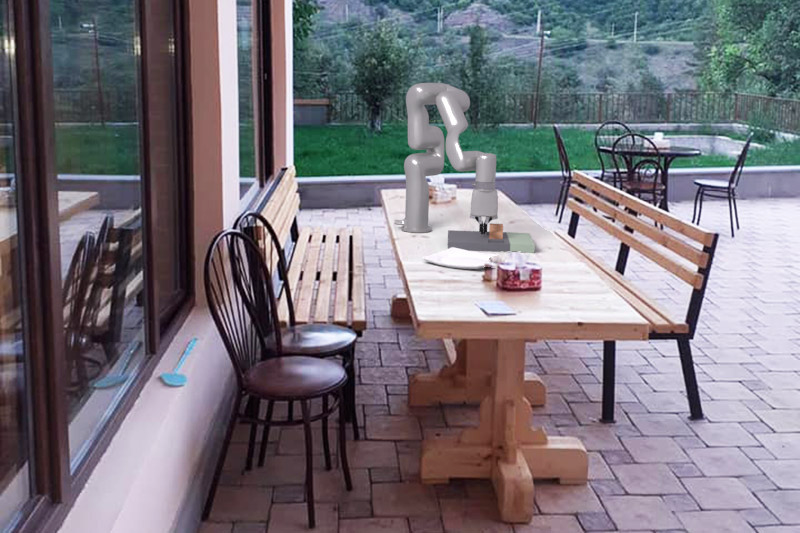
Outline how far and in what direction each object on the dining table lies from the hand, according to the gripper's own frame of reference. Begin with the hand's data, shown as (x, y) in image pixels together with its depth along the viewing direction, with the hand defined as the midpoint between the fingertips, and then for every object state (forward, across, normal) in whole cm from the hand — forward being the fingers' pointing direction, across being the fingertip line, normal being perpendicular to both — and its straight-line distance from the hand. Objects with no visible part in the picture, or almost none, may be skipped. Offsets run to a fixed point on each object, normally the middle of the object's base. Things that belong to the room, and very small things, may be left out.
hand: (483, 233), depth 347 cm
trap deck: (+4, +3, 0) cm, 5 cm away
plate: (+5, -7, -33) cm, 34 cm away
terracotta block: (+1, +5, 0) cm, 5 cm away
